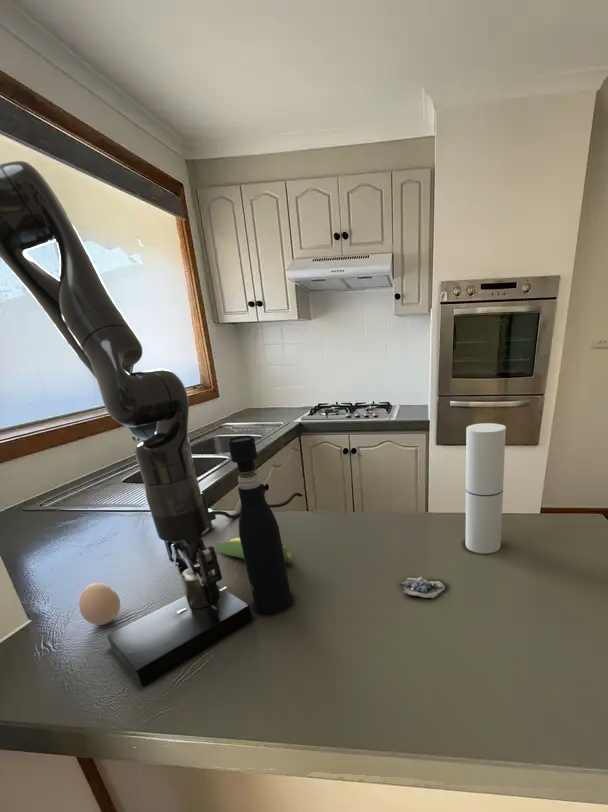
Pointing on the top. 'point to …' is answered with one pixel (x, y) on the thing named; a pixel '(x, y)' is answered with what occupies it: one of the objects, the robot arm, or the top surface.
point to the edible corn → (236, 550)
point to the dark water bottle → (259, 533)
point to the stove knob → (193, 589)
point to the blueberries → (422, 587)
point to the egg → (99, 604)
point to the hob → (176, 634)
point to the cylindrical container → (484, 486)
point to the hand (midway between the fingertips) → (201, 592)
